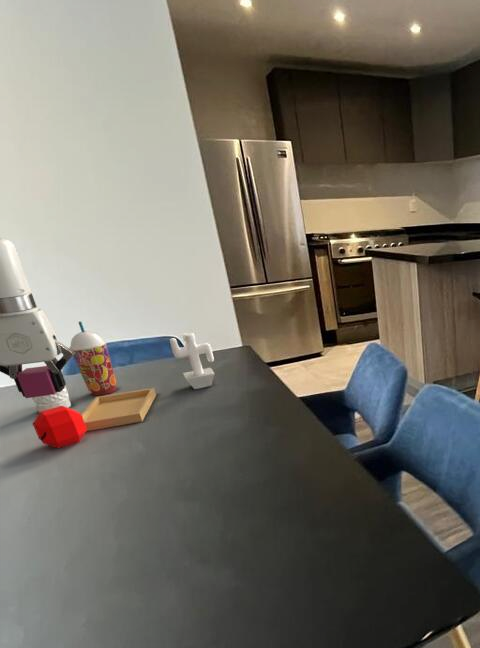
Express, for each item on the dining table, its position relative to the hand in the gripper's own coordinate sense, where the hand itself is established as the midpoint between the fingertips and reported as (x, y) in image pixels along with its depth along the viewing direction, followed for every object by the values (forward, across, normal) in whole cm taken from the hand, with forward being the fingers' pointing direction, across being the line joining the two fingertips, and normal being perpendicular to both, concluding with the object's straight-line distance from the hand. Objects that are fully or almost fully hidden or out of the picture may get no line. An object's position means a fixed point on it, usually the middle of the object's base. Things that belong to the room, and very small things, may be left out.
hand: (44, 391), depth 103 cm
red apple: (+12, +1, 0) cm, 12 cm away
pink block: (0, 0, 0) cm, 0 cm away
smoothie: (+12, 0, +36) cm, 38 cm away
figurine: (+12, +26, +27) cm, 39 cm away
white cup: (+13, -9, +27) cm, 31 cm away
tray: (+12, +8, +15) cm, 20 cm away
